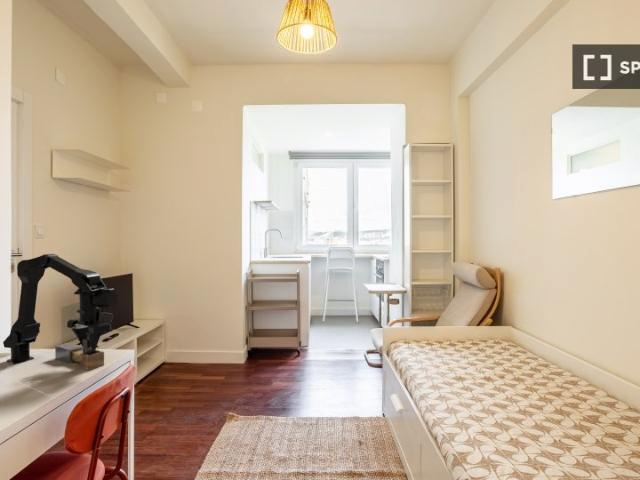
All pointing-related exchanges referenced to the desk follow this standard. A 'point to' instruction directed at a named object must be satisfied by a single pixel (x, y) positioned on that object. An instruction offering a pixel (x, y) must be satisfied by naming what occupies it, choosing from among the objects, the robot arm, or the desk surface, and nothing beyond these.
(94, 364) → the socket
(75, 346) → the sleeve
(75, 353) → the slider
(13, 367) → the desk surface
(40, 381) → the desk surface
